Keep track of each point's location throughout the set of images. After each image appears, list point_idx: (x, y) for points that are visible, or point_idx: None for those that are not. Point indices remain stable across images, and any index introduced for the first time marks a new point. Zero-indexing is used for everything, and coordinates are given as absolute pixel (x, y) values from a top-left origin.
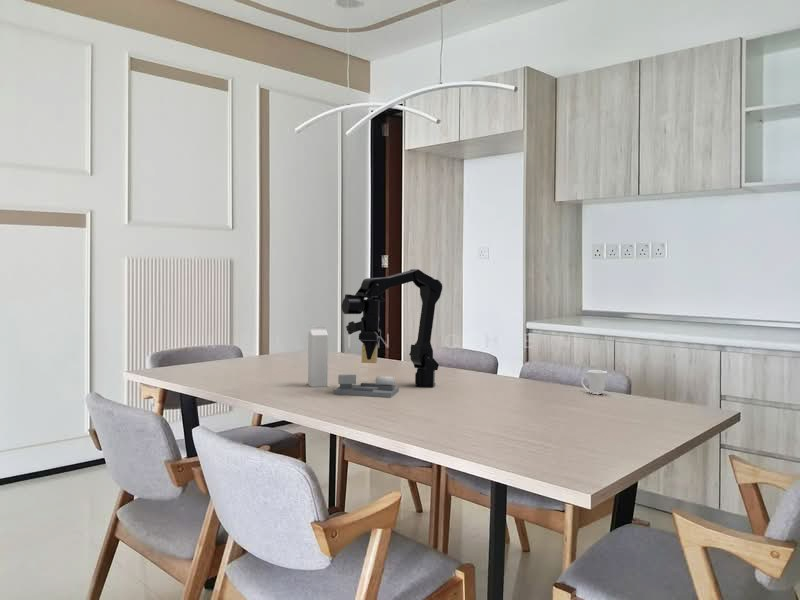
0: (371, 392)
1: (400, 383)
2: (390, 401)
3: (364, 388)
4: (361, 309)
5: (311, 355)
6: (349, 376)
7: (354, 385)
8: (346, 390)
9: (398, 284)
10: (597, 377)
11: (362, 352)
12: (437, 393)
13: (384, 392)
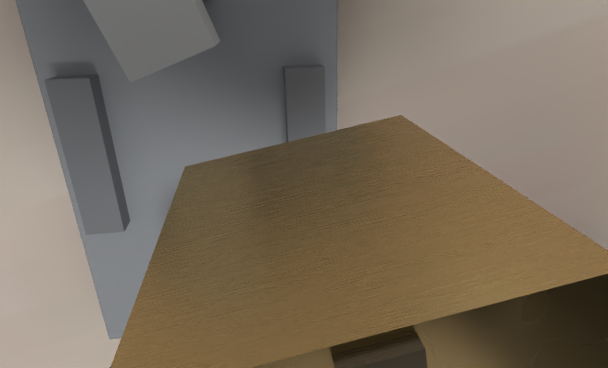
0: (78, 224)
1: (603, 226)
2: (7, 350)
3: (72, 177)
4: None
5: None
6: (87, 6)
7: (299, 1)
8: (24, 16)
9: None
10: None
11: (159, 266)
12: None
13: (110, 302)
